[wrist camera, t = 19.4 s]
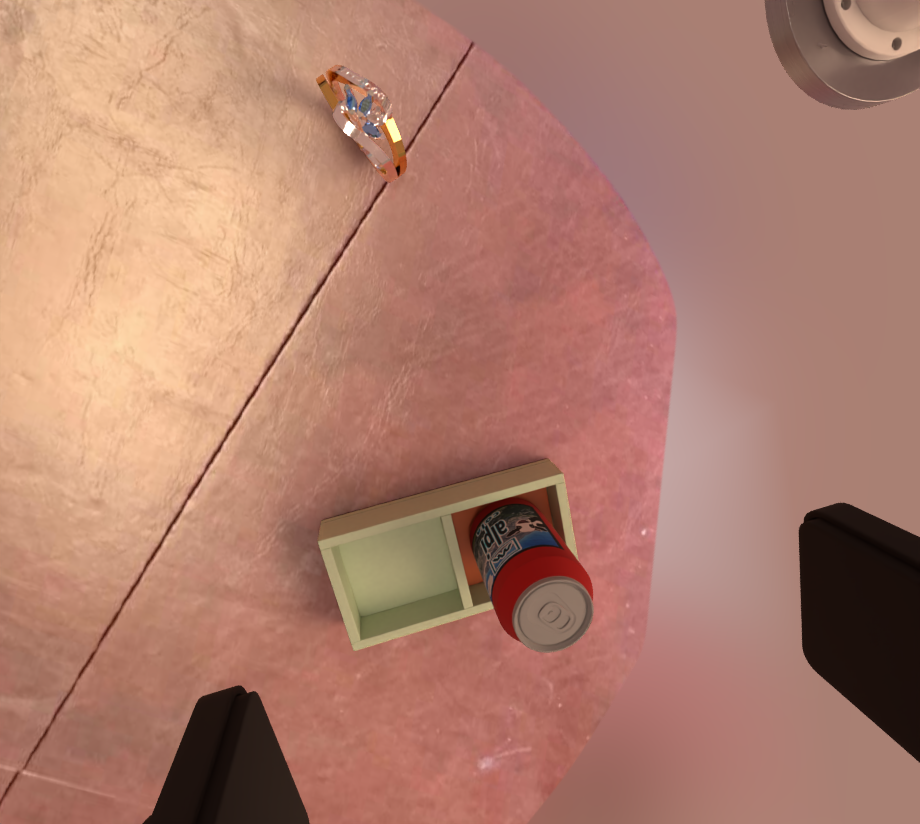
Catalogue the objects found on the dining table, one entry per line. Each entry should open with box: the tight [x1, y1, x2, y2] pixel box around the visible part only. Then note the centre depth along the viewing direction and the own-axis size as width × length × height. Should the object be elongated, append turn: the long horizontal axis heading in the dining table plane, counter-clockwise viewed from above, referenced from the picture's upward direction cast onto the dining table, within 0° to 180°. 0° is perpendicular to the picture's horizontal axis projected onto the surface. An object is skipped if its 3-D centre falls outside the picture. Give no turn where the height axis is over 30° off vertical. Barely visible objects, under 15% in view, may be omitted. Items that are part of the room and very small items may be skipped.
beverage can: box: [470, 498, 593, 653], centre depth 39 cm, size 7×7×12 cm
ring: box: [316, 65, 407, 183], centre depth 32 cm, size 7×3×8 cm, turn 33°
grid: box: [318, 458, 578, 651], centre depth 43 cm, size 10×20×4 cm, turn 102°
